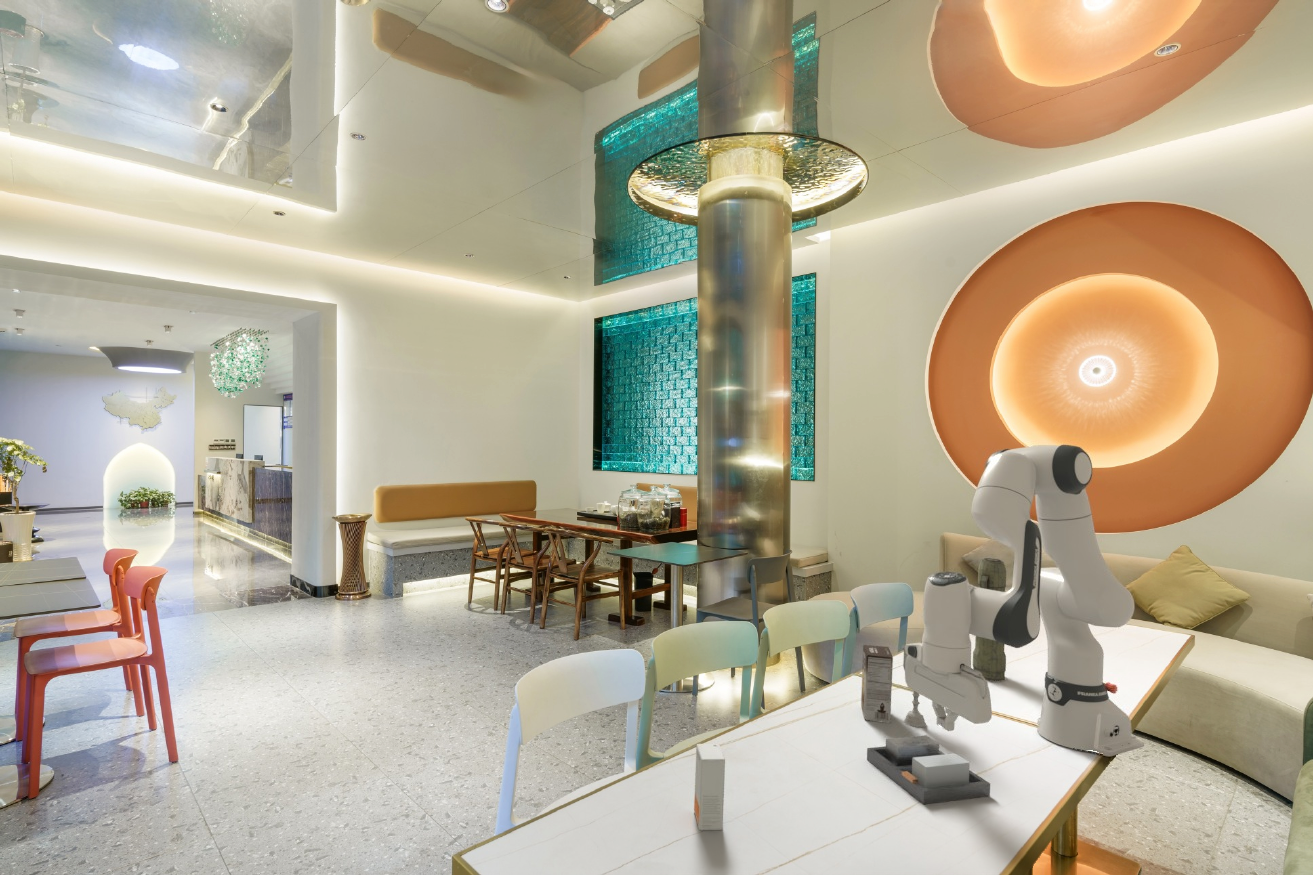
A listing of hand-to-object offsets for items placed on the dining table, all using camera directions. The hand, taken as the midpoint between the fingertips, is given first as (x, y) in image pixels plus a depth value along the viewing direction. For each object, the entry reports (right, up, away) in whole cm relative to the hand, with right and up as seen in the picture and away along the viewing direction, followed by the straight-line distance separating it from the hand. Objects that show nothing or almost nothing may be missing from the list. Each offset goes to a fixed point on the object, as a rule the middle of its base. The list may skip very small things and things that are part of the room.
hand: (945, 727), depth 129 cm
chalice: (+6, -13, +31) cm, 34 cm away
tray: (-2, -12, +4) cm, 12 cm away
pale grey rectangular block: (-1, -11, 0) cm, 11 cm away
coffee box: (-2, -13, +35) cm, 37 cm away
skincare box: (-48, -10, -15) cm, 51 cm away
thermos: (+43, -15, +69) cm, 83 cm away
